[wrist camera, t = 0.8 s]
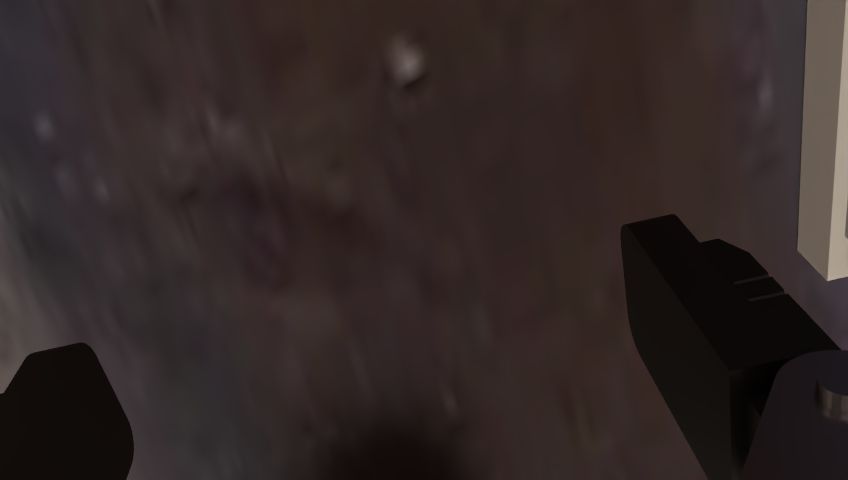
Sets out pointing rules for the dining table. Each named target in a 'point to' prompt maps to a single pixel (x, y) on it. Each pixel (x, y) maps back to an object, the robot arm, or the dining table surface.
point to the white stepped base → (825, 141)
